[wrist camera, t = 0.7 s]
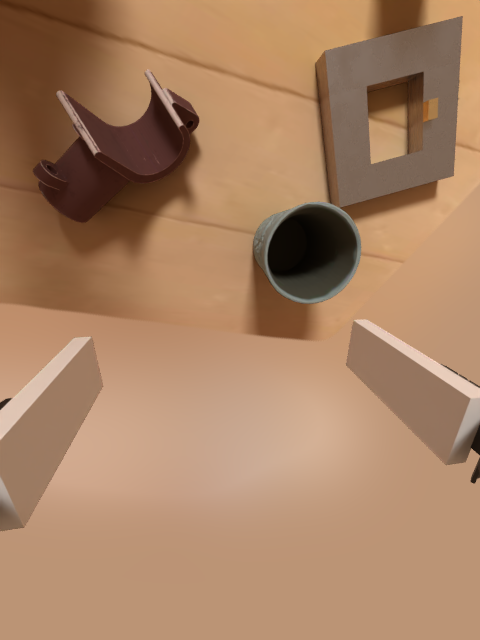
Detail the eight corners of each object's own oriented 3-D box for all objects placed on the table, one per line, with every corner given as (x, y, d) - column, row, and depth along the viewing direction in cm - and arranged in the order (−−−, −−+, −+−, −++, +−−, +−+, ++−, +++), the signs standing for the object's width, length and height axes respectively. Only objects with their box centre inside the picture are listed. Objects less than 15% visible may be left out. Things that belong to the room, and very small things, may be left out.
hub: (315, 63, 31) (328, 46, 28) (443, 30, 32) (469, 10, 29) (331, 208, 37) (343, 207, 34) (437, 178, 38) (459, 174, 35)
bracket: (213, 139, 30) (169, 76, 20) (111, 231, 35) (37, 214, 25) (184, 93, 30) (125, 6, 20) (86, 191, 35) (2, 159, 25)
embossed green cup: (319, 268, 40) (365, 288, 29) (255, 289, 40) (277, 316, 29) (307, 197, 36) (356, 187, 25) (236, 219, 36) (253, 219, 25)
